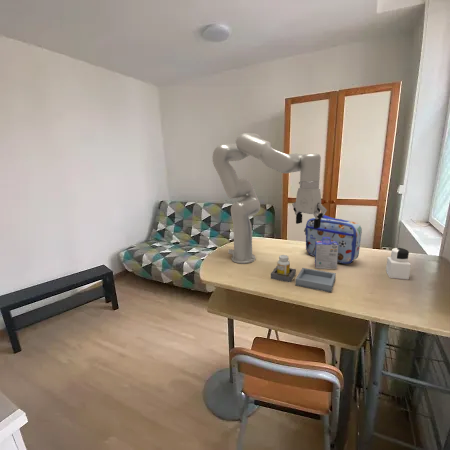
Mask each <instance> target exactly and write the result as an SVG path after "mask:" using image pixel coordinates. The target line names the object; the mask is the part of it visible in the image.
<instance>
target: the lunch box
mask: <svg viewBox="0 0 450 450" xmlns="http://www.w3.org/2000/svg"><path fill="white" fill-rule="evenodd" d="M314 219H315V217H312V218H309V219H308V220H307V222H306V224H305V228H304V230H303V232H304V235H305V250H306V252H307V253H308V254H309V255H311V256H313V257H315V241H322V237H330V239H331V241H336V242H337V243H338V258H337V263H340V264H345V265H346V264H348V265H349V264H351V263H352V262H353V261H355V260H357V259H358V258H359V254H360V249H361V239H362V233H363V230H362V229H363V228H362V227H361V225H360V224H359V223H358V222H355V221H351V220H346V219H341V218H335V217H331V216H329V215H326V214H325V215H324V216H323V217H322V218H321V223H320V228H316V229H314ZM324 240H329V239H327V238H325V239H324Z"/></svg>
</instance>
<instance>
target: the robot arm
mask: <svg viewBox="0 0 450 450" xmlns="http://www.w3.org/2000/svg"><path fill="white" fill-rule="evenodd" d="M250 156H251V157H253V158H255V159H257V160H259V161H260V162H261V163H263V164H264V165H265V166H266V167H268V168H269V169H272V170H274V171H275V172H279V173H281V174H290V173H298V172H300V174H299V181H298V184H299V187H297V192H296V197H295V198H296V199H295V202H293V203H292V208H293V211H294V215H295V224H297V225H298V224H302V223H303V214H307V215H313V218H315V219H314V229H316V228H320V223H321V218H322V217H323V216H324V215H326V213H327V211H328V209H327V208H326V207H325V206H324V205H322V194H321V189H320V178H321V163H322V160H321V159H322V158H321V155H320V154H319V153H304V154H303V153H285V152H281V151H279V150H276V149H274V148H273V147H272V142H270V141H268V140H265V139H263V138H262V137H261V135H260V134H257V133H254V132H253V133H252V132H244V133H240V134H238V136H237V137H236V140H235V143H222V144H219V145H217V146H216V147H215V148H214V150H213V153H212V163H213V167H214V169H215V170H216V172H217V175H218V176H219V178H220V182H221V184H222V186H223V189H224V191H225V193H226V196H227V197H228V198H229V199H231V200H236V199H240V200H237V201H235V202H233V204H232V205H231V207H230V216H231V219H232V229H233V230H232V231H233V249H231V248H229V249H228V251H227V252H228V255H232V256H231V261H232V262H233V263H236V264H241V265H242V264H250V263H253V262H254V261H256V255H254V254H253V226H252V222H251V220H250V217H253V216H256V215H257V214H258V213H259V212H260V211H261V203H260V200H259V198H258V195H257V193H256V190H255V187H254V185H253V183H252V182H251V181H250V180H249V179H247V178H239V176H238V175H237V172H236V170H235V168H234V167H233V166H232V165H231V164H230V162H239V161H241V160H243V159H246V158H248V157H250ZM302 213H303V214H302Z"/></svg>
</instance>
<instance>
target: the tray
mask: <svg viewBox="0 0 450 450" xmlns="http://www.w3.org/2000/svg"><path fill="white" fill-rule="evenodd" d="M336 276H337V273H335V272H330V271H324V270H317V269H312V268H306V267H302V268H301V269H300V271H299V272H298V274H297V276H296V278H295V286H296V287H301V288H307V289H311V290H315V291H320V292H326V293H332V292H333V288H334V286H335V282H336Z"/></svg>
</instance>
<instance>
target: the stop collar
mask: <svg viewBox="0 0 450 450" xmlns="http://www.w3.org/2000/svg"><path fill="white" fill-rule="evenodd" d="M296 275H297V268H291V267H290V271H289V276H288V275H282V274H277V266H275V268H274V269H273V270H272V271H271V272H270V277H269V278H270V280H275V281H279V282H280V281H281V282H284V283H285V282H286V283H292V281H293V279H294V278H295V277H296Z"/></svg>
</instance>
